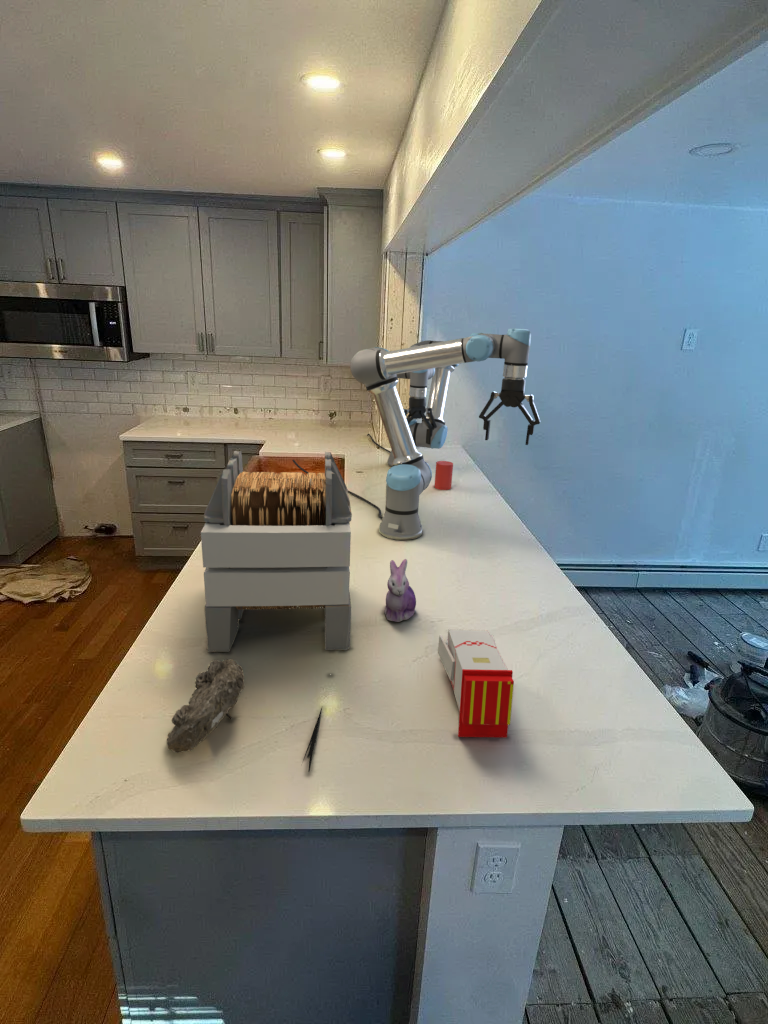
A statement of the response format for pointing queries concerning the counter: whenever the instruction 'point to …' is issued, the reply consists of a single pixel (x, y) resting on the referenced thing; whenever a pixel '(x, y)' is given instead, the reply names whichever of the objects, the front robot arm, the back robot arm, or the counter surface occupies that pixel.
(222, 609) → the grey boxy piece
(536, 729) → the counter surface
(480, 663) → the toy
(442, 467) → the can
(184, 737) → the fossil
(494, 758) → the counter surface
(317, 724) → the feather
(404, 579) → the figurine
